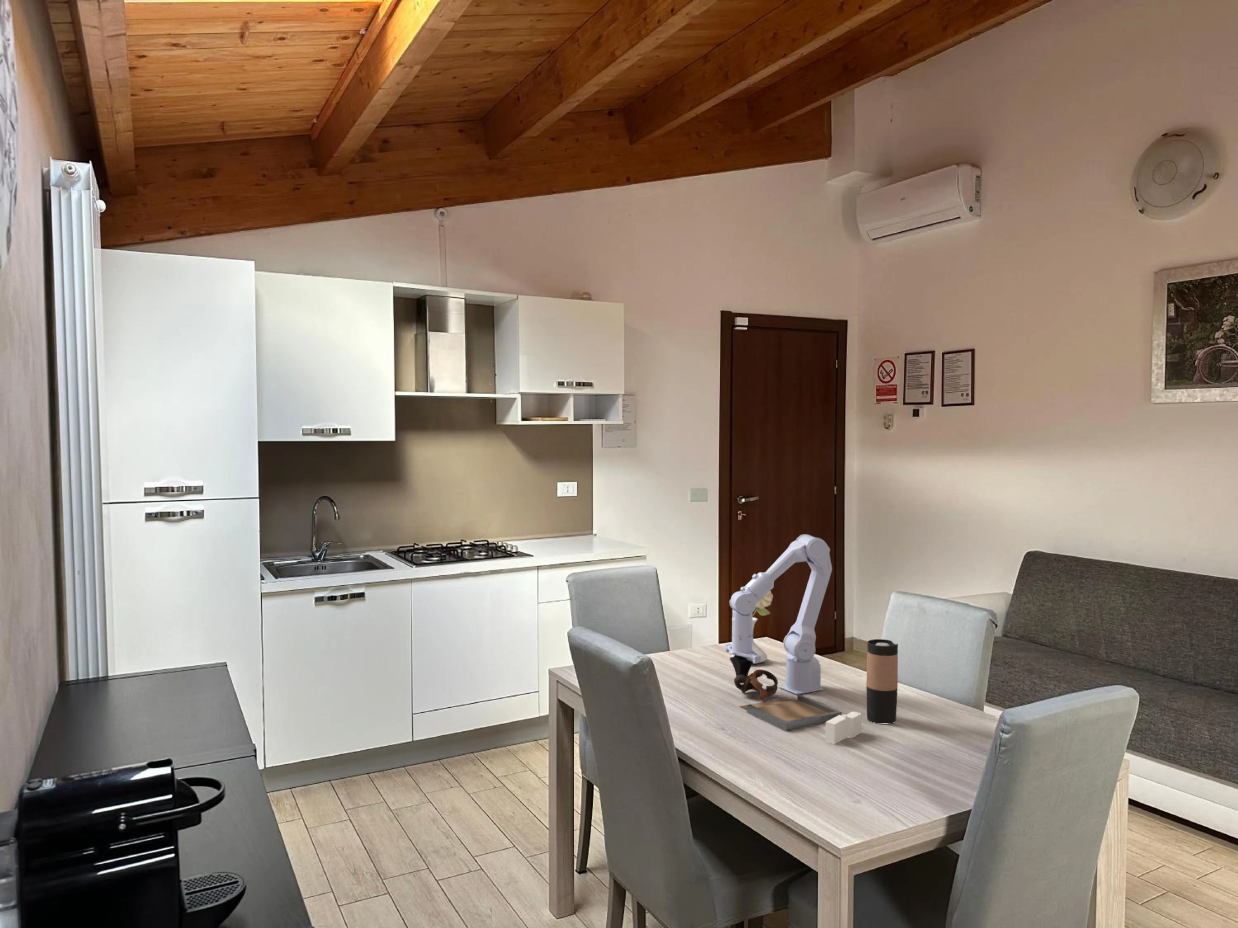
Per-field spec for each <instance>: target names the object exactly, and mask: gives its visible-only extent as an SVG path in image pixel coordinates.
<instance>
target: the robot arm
mask: <svg viewBox="0 0 1238 928" xmlns="http://www.w3.org/2000/svg"><path fill="white" fill-rule="evenodd" d="M830 551H831V548H830V546H828V544H827V543H826V541H825V540H823V539H822V538H821V537H815V536H813V535H811V534H808V533H807V534H800V535H799V536H798V537H796V539H795V540H794V541H792V542H790V544H789V546H788V547H787V548H786V549H785V551H784V552H783V553H782V554H781V555H780V556H779V557H778V558H777V559H776V560H775V562H773V564H771V566H770V567H769V568H767V570H766V571H765V572H761V571H760V572H758V573H757V574H756V573H753V575H752V576H751V577H752V578H751V580H750V581H749V582H747V584H746V585H745V586H741V587H740V590H739V591H735V592H734V593H733V594H732V595H731V596H730V597H731V598H730V599H729V601H728V602H729V606H730V608H731V609H732V614H731V615H732V618H731V622H732V623H731V624H732V625H731V643H729V644H724V652H725V653H728V654H729V655H730V656H731V655H734V657H729V661H730V662H731V664H732V666H733V669H734V673H735V676H738V675H744V676H748V675H749V674H750V673H749V672H750V669H751V667H752V665H753V664H760V663H762V662H761V656H760V655H758V654H757V653H756V652H754V651H753V650H752V643H753V641H754V628H753V619H752V614H754V612H755V611H756V609H757V608H756V604H757V603H758V602H759V601H760V600H761V599H762V598H763V597H764V596H765V595H766V594H767V593H768V592H769V591H771V590H773V588H775V587H774V583H775V581H776V580H777V579H778V578H779V577H780V576H781V575H782V574H784V573H785V572H786V571H787V570H789V568H790V567H792V566H793V565H794V564H795V563H803V562H806V563H807V564H808V566H809V568H810V570H811V572H810V575H809V579H808V581H807V585H806V588H805V592H804V595H803V597H802V602H801V603H800V604H801V605H800V608H799V612H798V614H797V618H796V620H795V623H793V625H791V627H790V629H789V631H788V633H787V635H785V637H784V639H783V645H782V646H783V648H784V650H785V651H786V656H785V667H786V668H785V669H786V670H785V684H781V685H779V687H778V688H780V689H781V690H785V691H786V692H790V693H791V694H794V695H803V694H807V693H808V694H809V693H814V692H818V691H823V687H821V678H822V677H821V675H822V672H821V671H822V669H821V663H820V661H819V660H818V659H817V658H816V657H815V654H816V639H817V636H816V631H815V627H816V625H817V621H818V617H819V614H820V610H821V606H822V604H823V601H824V598H825V594H826V593H827V592H826V591H827V588H828V585H829V582H830V579H831V574H832V572H833V566H832V562H831V556H830ZM739 683H740V684H744V683H743V682H742V681H739Z"/></svg>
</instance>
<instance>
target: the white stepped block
mask: <svg viewBox="0 0 1238 928" xmlns="http://www.w3.org/2000/svg"><path fill="white" fill-rule="evenodd" d="M862 715H863V714H862V713H860V712H857V711H851V712H849V713H847V714H842V715H838V716H836V717H835V718H833V719H831V720H829V721H827V722H826V723H825V741H824V742H825V743H828V744H831V745H836V744H837V743H839V742H842V741H843V740H845V739H851V738H852V739H853V738H855V737H856V735H857V736H858V734H859V733H860V734H862V717H863V716H862ZM860 734H859V735H860Z"/></svg>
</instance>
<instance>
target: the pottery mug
mask: <svg viewBox="0 0 1238 928" xmlns="http://www.w3.org/2000/svg"><path fill="white" fill-rule="evenodd" d="M763 675H764V676H766V679H768V680H772V681H773V685H766V688H764V687H763V686H764V684H763V683H762V682H761V681H759V680H758V678H761V677H762V676H763ZM735 676H736V675H735ZM739 681H742V682H743V683H739ZM733 682H734V686H735V687H736V688H737V689H738V690H740V691H741V693H742V694H744V695H745V694H746V692H748V691H751V690H753V691H757V692H760V693H759V696H758V700H760V702H765V700H766V699H767V698H770V697H772V696H773V695H775V694H776V693H777V691H778V688H779V687H778V684H779V681H778V678H777V677H776V676H775V674H773V673H772V672H770V671H768V670H766V669H759V668H758V669H756V670H754V671H753V672H751V673H749V674H748V676H744V675H738V676H736V677H734V679H733Z"/></svg>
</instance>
